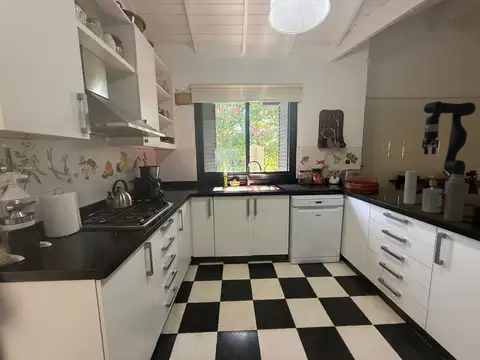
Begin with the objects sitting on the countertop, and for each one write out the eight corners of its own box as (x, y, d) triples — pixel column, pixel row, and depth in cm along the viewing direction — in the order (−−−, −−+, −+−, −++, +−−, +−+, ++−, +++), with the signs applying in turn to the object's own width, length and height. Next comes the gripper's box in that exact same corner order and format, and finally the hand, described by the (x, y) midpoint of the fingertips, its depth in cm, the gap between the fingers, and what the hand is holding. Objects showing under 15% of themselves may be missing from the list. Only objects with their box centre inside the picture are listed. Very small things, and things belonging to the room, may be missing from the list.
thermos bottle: (444, 219, 134) (448, 172, 131) (443, 216, 140) (447, 171, 137) (463, 222, 129) (468, 173, 126) (461, 219, 135) (466, 172, 132)
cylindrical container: (416, 204, 175) (419, 171, 172) (406, 203, 176) (408, 171, 173) (411, 202, 181) (414, 171, 179) (401, 202, 183) (403, 171, 180)
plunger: (429, 206, 157) (431, 180, 155) (437, 208, 152) (440, 181, 150) (424, 207, 155) (426, 180, 153) (433, 209, 150) (435, 181, 148)
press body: (427, 208, 160) (429, 187, 158) (448, 213, 148) (450, 190, 147) (418, 210, 156) (420, 188, 155) (439, 214, 145) (441, 191, 143)
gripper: (431, 132, 167) (429, 154, 169) (419, 131, 162) (417, 154, 164) (443, 131, 160) (441, 154, 162) (431, 130, 155) (429, 154, 157)
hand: (429, 154), depth 163 cm, fingers open, 8 cm apart
